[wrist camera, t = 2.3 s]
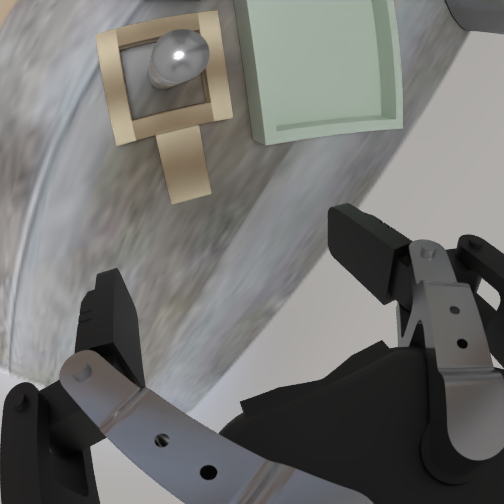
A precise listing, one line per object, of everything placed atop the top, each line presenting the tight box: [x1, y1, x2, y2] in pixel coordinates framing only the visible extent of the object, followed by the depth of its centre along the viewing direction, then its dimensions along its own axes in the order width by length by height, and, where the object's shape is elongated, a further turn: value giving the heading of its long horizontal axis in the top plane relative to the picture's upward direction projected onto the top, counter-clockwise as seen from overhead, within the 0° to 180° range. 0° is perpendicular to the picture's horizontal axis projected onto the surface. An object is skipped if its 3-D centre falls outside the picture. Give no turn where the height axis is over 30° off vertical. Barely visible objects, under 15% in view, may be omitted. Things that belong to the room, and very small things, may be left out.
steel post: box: [148, 29, 210, 89], centre depth 15 cm, size 2×2×12 cm
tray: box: [234, 0, 403, 146], centre depth 20 cm, size 15×20×3 cm
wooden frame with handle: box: [96, 10, 233, 205], centre depth 20 cm, size 14×9×4 cm, turn 8°
